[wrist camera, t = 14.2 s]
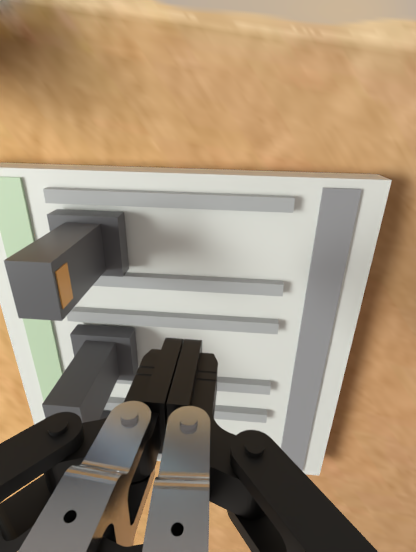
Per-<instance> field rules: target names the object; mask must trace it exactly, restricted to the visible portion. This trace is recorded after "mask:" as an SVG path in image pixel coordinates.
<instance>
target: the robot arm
mask: <svg viewBox="0 0 416 552" xmlns="http://www.w3.org/2000/svg"><path fill="white" fill-rule="evenodd" d="M217 374H218V361H217V359H216V357H215V355H214V354H213V353H202V340H194V339H179V338H165V340H164V343H163V346H162V348H161V350H160V349H151V350H150V351H149V352H148V353H147V354H146V355H144V356H143V358H142V361H141V363H140V365H139V368H138V370H137V372H136V375H135V377H134V379H133V382H132V384H131V386H130V389H129V391H128V393H127V396H126V398H125V400H124V403H121V404H119V405H118V406H116V407H115V408H114V409H113V410H112V411H111V412H110V414H109V415H108V417H107V418H104V419H100V420H95V421H89V422H84V423H82V421H81V418H80V417H79V416H78V415H77V414H75V413H73V412H59V413H56V414H53V415H51V416H49V417H47V418H45V419H44V420H42V421H40V422H38V423H36V424H35V425H33V426H31V427H29V428H28V429H26V430H24V431H22V432H20V433H19V434H17V435H15V436H13V437H12V438H10V439H8V440H6V441H4V442H3V443H1V444H0V552H17V551H18V550H19V551H18V552H208V539H209V501H210V502H212V503H214V504H216V505H218V506H221V507H223V508H225V509H227V512H228V515H229V517H230V519H231V521H232V522H233V524H234V525H235V527H236V528H237V530H238V532H239V533H240V535H241V536H242V538H243V539H244V541H245V542H246V544H247V545H248V547H249V548H250V550H251V552H378V551H377V550H376V549H375V548H374V547H373V546H372V545H371V544H370V543H369V542H368V541H367V540H366V538H365V537H364V536H363V535H362V534H361V533H360V532H359V531H358V530H357V529H356V528H355V527H354V526H353V525H352V524H351V523H350V521H349V520H348V519H347V518H346V517H345V516H344V515H343V514H342V513H341V512H340V511H339V510H338V509H337V508H336V507H335V505H334V504H333V503H332V502H331V501H330V500H329V499H328V498H327V497H326V496H325V495H324V494H323V493H322V492H321V491H320V490H319V488H318V487H317V486H316V485H315V484H314V483H313V482H312V481H311V480H310V479H309V478H308V477H307V476H306V475H305V474H304V472H303V471H302V470H301V469H300V468H299V467H298V466H297V465H296V464H295V463H294V462H293V461H292V460H291V459H290V458H289V457H288V455H287V454H286V453H285V452H284V451H283V450H282V449H281V448H280V447H279V446H278V445H277V444H276V443H275V442H274V441H273V439H272V438H270V437H269V436H268V435H267V434H265V433H263V432H261V431H257V430H245V431H242V432H240V433H238V434H237V435H234V434H232V433H229V432H227V431H225V430H224V429H222V428H221V427H220V426H219V425H218V424H217V423H216V421H215V420H214V414H215V404H216V394H217ZM158 454H162V457H161V463H160V469H159V475H158V477H156V478H155V481H154V485H153V491H152V497H151V503H150V508H149V514H148V520H147V526H146V532H145V538H144V543H143V544H141V545H135V546H133V543H134V537H135V533H136V529H137V526H138V523H139V520H140V517H141V514H142V511H143V508H144V505H145V502H146V499H147V496H148V493H149V490H150V487H151V484H152V481H153V478H154V475H155V465H156V461H157V457H158ZM43 473H44V475H43V476H41V477H40V478H38V479H37V480H35V481H34V482H32V483H31V484H29V485H28V486H26V487H25V488H23V489H22V490H20V491H19V492H17V493H16V494H14V495H13V496H11V497H10V498H8V499H7V500H5V501H4V502H2V501H3V500H4V499H5V498H7V497H8V496H10V495H11V494H13V493H14V492H16V491H17V490H19V489H20V488H22V487H23V486H25V485H26V484H28V483H29V482H31V481H32V480H34V479H35V478H37V477H38V476H40V475H41V474H43ZM1 502H2V503H1Z"/></svg>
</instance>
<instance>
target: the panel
mask: <svg viewBox="0 0 416 552" xmlns="http://www.w3.org/2000/svg"><path fill="white" fill-rule="evenodd" d="M391 181H392V180H390V179H388V178H386V177H383V176H381V175H379V174H356V173H324V172H292V171H260V170H228V169H196V168H163V167H131V166H99V165H67V164H35V163H3V162H0V304H1V308H2V311H3V315H4V319H5V322H6V326H7V329H8V333H9V336H10V340H11V343H12V347H13V350H14V354H15V357H16V361H17V365H18V368H19V372H20V375H21V379H22V382H23V386H24V389H25V393H26V396H27V400H28V403H29V407H30V411H31V414H32V418H33V421H34V425H35V424H36V423H38V422H40V421H42V420H44V419H45V418H47V417H49V416H51V415H53V414H56V413H59V412H73V413H75V414H77V415H78V416H79V417H80V418H81V421H82V423H84V422H89V421H95V420H100V419H104V418H107V417H108V415H109V414H110V412H111V411H112V410H113V409H114V408H115V407H116V406H118V405H119V404H121V403H124V400H125V398H126V396H127V393H128V391H129V389H130V386H131V384H132V382H133V379H134V377H135V375H136V372H137V370H138V368H139V365H140V363H141V361H142V358H143V356H144V355H146V354H147V353H148V352H149V351H150V350H151V349H160V350H161V348H162V346H163V343H164V340H165V338H179V339H194V340H202V353H213V354H214V355H215V357H216V359H217V361H218V374H217V394H216V404H215V414H214V420H215V421H216V423H217V424H218V425H219V426H220V427H221V428H222V429H224V430H225V431H227V432H229V433H232V434H234V435H237V434H238V433H240V432H242V431H245V430H257V431H261V432H263V433H265V434H267V435H268V436H269V437H270V438H272V439H273V441H274V442H275V443H276V444H277V445H278V446H279V447H280V448H281V449H282V450H283V451H284V452H285V453H286V454H287V455H288V457H289V458H290V459H291V460H292V461H293V462H294V463H295V464H296V465H297V466H298V467H299V468H300V469H301V470H302V471H303V472H304V474H309V475H320V471H321V467H322V463H323V459H324V455H325V451H326V447H327V442H328V438H329V434H330V430H331V426H332V422H333V418H334V414H335V410H336V406H337V402H338V398H339V394H340V389H341V385H342V381H343V377H344V373H345V369H346V365H347V361H348V357H349V353H350V349H351V345H352V340H353V336H354V332H355V328H356V324H357V320H358V316H359V312H360V308H361V304H362V300H363V296H364V291H365V287H366V283H367V279H368V275H369V271H370V267H371V263H372V259H373V255H374V251H375V247H376V242H377V238H378V234H379V230H380V226H381V222H382V218H383V214H384V210H385V206H386V202H387V198H388V193H389V189H390V185H391ZM56 209H69V210H94V211H119V212H124V216H125V227H126V238H127V249H128V260H129V270H128V271H127V272H126V274H125V275H124V277H116V276H100V277H99V279H98V280H97V281H96V282H95V283H94V284H93V286H92V287H91V288H90V289H89V290H88V291H87V293H86V294H85V295H84V296H83V297H82V298H81V300H80V301H79V302H78V303H77V304H76V305H75V307H74V308H73V309H72V310H71V311H70V312H69V314H68V315H67V316H66V317H65V318H64V319H63V320H62V321H54V320H38V319H23V318H19V317H18V314H17V310H16V306H15V302H14V298H13V294H12V291H11V287H10V283H9V279H8V275H7V271H6V268H5V264H4V260H5V259H7V258H8V257H10V256H12V255H13V254H15V253H16V252H18V251H20V250H21V249H23V248H25V247H26V246H28V245H29V244H31V243H33V242H34V241H36V240H37V239H39V238H41V237H42V236H44V235H46V234H47V233H49V232H50V229H49V224H48V218H47V214H49V213H50V212H52V211H54V210H56ZM161 457H162V454H158V457H157V461H161Z"/></svg>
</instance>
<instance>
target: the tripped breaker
mask: <svg viewBox="0 0 416 552" xmlns="http://www.w3.org/2000/svg"><path fill="white" fill-rule="evenodd" d="M47 218H48V224H49V229H50V232H49V233H47V234H46V235H44V236H42V237H41V238H39V239H37V240H36V241H34V242H33V243H31V244H29V245H28V246H26V247H25V248H23V249H21V250H20V251H18V252H16V253H15V254H13V255H12V256H10V257H8V258H7V259H5V260H4V264H5V268H6V271H7V275H8V279H9V283H10V287H11V291H12V294H13V298H14V302H15V306H16V310H17V314H18V317H19V318H23V319H38V320H54V321H62V320H63V319H64V318H65V317H66V316H67V315H68V314H69V312H70V311H71V310H72V309H73V308H74V307H75V305H76V304H77V303H78V302H79V301H80V300H81V298H82V297H83V296H84V295H85V294H86V293H87V291H88V290H89V289H90V288H91V287H92V286H93V284H94V283H95V282H96V281H97V280H98V279H99V277H100V276H116V277H124V275H125V274H126V272H127V271H128V270H129V260H128V249H127V238H126V227H125V216H124V212H119V211H94V210H69V209H56V210H54V211H52V212H50V213H49V214H47Z"/></svg>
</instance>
